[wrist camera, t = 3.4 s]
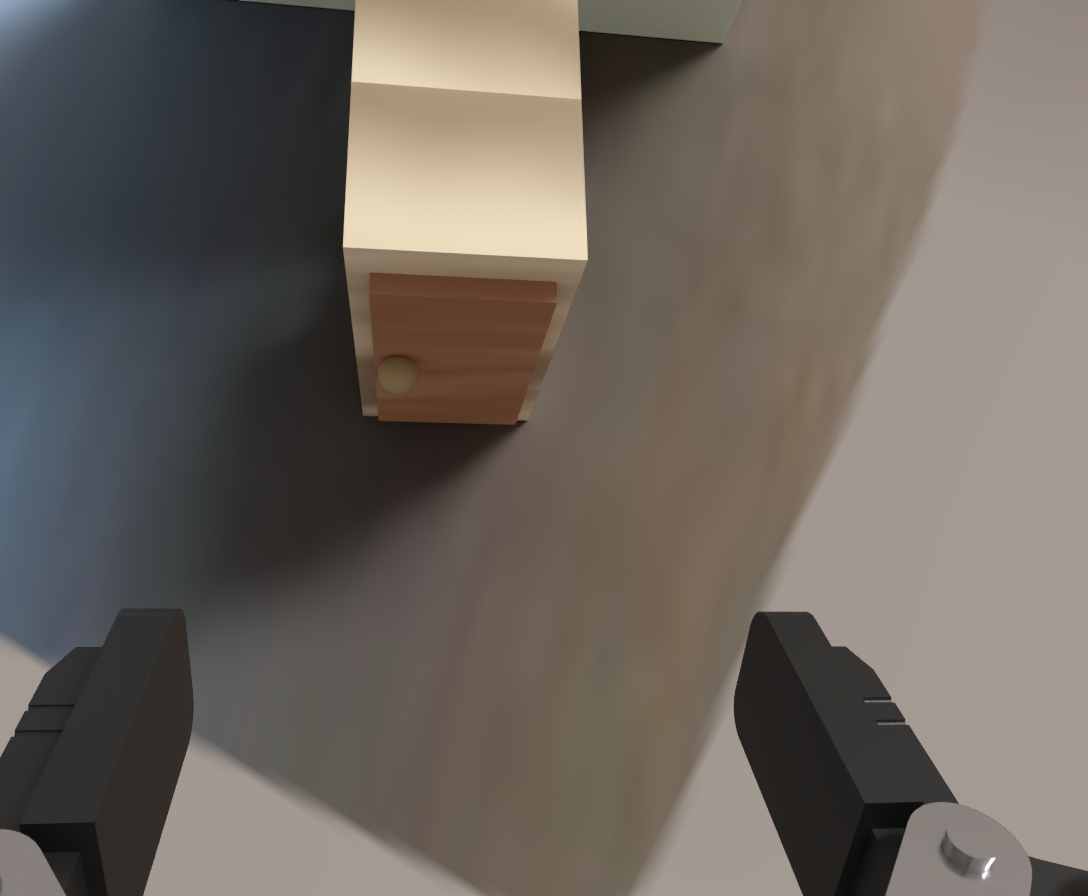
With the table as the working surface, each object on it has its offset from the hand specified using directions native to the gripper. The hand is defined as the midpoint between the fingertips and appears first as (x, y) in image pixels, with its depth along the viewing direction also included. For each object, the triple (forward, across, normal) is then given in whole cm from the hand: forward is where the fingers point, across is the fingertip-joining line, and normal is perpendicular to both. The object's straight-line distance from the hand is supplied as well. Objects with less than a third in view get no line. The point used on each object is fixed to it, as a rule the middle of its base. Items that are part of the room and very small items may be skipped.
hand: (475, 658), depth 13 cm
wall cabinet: (+18, 0, +1) cm, 18 cm away
